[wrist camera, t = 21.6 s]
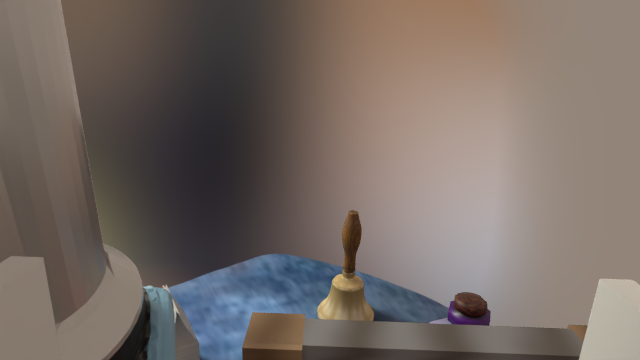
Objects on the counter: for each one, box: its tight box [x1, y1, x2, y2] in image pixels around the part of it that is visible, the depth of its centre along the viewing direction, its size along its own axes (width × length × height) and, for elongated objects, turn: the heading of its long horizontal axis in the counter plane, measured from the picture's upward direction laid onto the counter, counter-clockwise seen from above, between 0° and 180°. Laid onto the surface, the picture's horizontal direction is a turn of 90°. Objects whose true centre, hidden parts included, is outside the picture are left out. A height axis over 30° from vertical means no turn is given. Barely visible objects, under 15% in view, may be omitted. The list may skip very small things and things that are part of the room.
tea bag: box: [162, 285, 200, 360], centre depth 47 cm, size 4×7×10 cm, turn 31°
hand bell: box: [317, 210, 374, 321], centre depth 58 cm, size 8×8×16 cm
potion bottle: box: [430, 292, 490, 326], centre depth 45 cm, size 9×9×12 cm
